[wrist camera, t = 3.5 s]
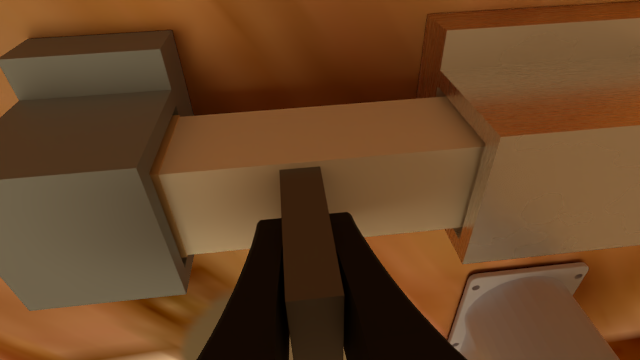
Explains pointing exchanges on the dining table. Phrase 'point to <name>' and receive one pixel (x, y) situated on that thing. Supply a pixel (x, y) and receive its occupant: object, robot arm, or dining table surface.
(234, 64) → the dining table surface
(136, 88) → the slate stepped block
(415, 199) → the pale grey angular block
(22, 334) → the dining table surface
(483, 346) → the robot arm
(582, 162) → the beige stepped block
